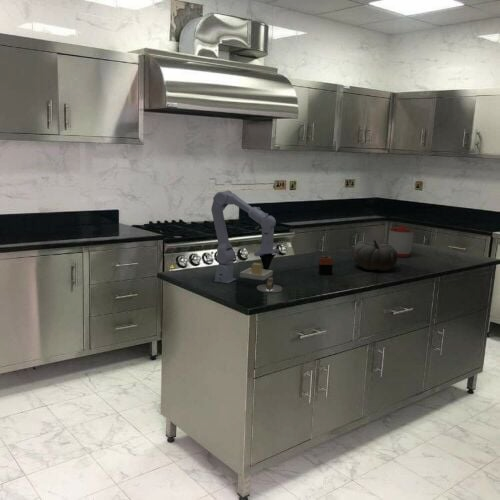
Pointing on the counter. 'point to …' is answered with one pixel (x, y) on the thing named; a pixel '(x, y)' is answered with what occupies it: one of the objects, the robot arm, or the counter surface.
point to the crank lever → (269, 282)
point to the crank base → (264, 289)
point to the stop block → (257, 268)
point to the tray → (249, 275)
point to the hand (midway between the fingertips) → (266, 269)
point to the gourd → (375, 256)
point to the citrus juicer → (401, 240)
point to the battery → (325, 265)
